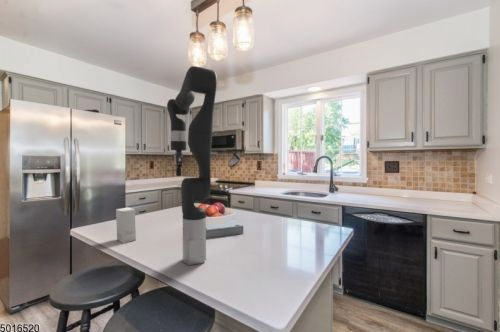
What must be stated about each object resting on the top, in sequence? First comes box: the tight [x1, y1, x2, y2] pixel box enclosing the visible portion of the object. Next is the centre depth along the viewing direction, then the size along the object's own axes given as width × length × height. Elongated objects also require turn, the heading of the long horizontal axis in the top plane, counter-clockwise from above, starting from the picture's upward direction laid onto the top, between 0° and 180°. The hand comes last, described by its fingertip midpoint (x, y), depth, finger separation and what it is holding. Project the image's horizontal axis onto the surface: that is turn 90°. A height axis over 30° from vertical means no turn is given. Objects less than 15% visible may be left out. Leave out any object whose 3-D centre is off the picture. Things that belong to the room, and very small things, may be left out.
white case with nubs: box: [206, 226, 244, 239], centre depth 131 cm, size 13×24×4 cm, turn 114°
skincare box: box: [115, 206, 137, 244], centre depth 117 cm, size 8×7×16 cm
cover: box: [206, 219, 244, 231], centre depth 131 cm, size 13×24×1 cm, turn 114°
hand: (178, 175), depth 117 cm, fingers closed
